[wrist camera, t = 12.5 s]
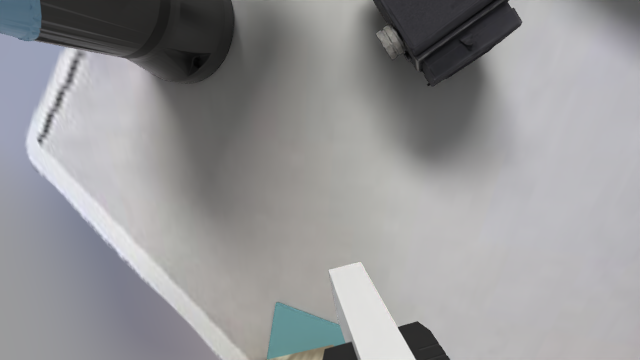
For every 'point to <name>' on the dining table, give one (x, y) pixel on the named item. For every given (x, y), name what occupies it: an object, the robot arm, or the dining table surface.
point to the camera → (444, 32)
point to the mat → (300, 332)
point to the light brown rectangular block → (305, 355)
